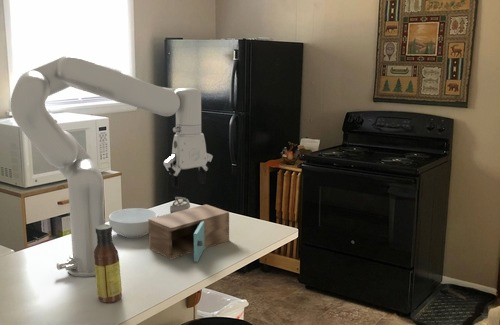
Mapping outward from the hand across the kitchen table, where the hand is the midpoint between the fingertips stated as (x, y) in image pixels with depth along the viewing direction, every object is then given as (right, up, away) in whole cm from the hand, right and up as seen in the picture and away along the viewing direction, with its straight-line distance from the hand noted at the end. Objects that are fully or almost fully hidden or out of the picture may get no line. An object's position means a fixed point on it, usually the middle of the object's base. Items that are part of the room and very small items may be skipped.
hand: (188, 185), depth 172 cm
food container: (-6, -17, +31) cm, 36 cm away
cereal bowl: (-22, -18, +24) cm, 37 cm away
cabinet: (-1, -20, +15) cm, 25 cm away
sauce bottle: (-18, -29, -24) cm, 42 cm away
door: (+3, -22, +5) cm, 23 cm away
